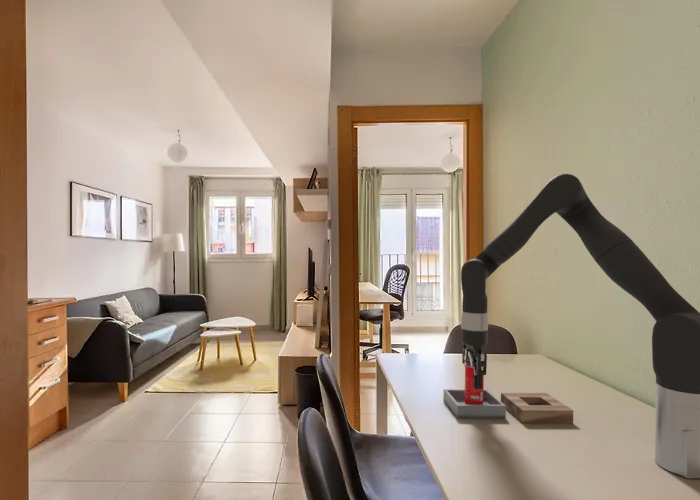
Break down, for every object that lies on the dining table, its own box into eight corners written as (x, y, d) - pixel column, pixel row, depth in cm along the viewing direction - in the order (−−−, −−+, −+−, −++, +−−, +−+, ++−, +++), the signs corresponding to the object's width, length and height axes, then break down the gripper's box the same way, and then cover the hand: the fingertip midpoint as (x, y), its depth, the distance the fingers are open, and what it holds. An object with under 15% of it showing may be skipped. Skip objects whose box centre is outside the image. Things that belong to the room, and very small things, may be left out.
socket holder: (573, 423, 111) (573, 410, 111) (522, 423, 110) (522, 410, 110) (545, 404, 125) (546, 392, 125) (500, 404, 124) (501, 392, 124)
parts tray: (505, 418, 113) (505, 405, 113) (457, 418, 112) (457, 405, 113) (486, 400, 127) (487, 389, 127) (443, 400, 126) (443, 389, 126)
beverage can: (462, 407, 118) (463, 366, 118) (466, 402, 123) (467, 362, 123) (481, 411, 116) (482, 368, 116) (484, 405, 120) (485, 364, 120)
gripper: (496, 332, 113) (495, 392, 113) (478, 323, 127) (477, 377, 127) (470, 331, 113) (469, 392, 112) (454, 323, 127) (453, 376, 127)
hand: (473, 384), depth 120 cm, fingers open, 7 cm apart
